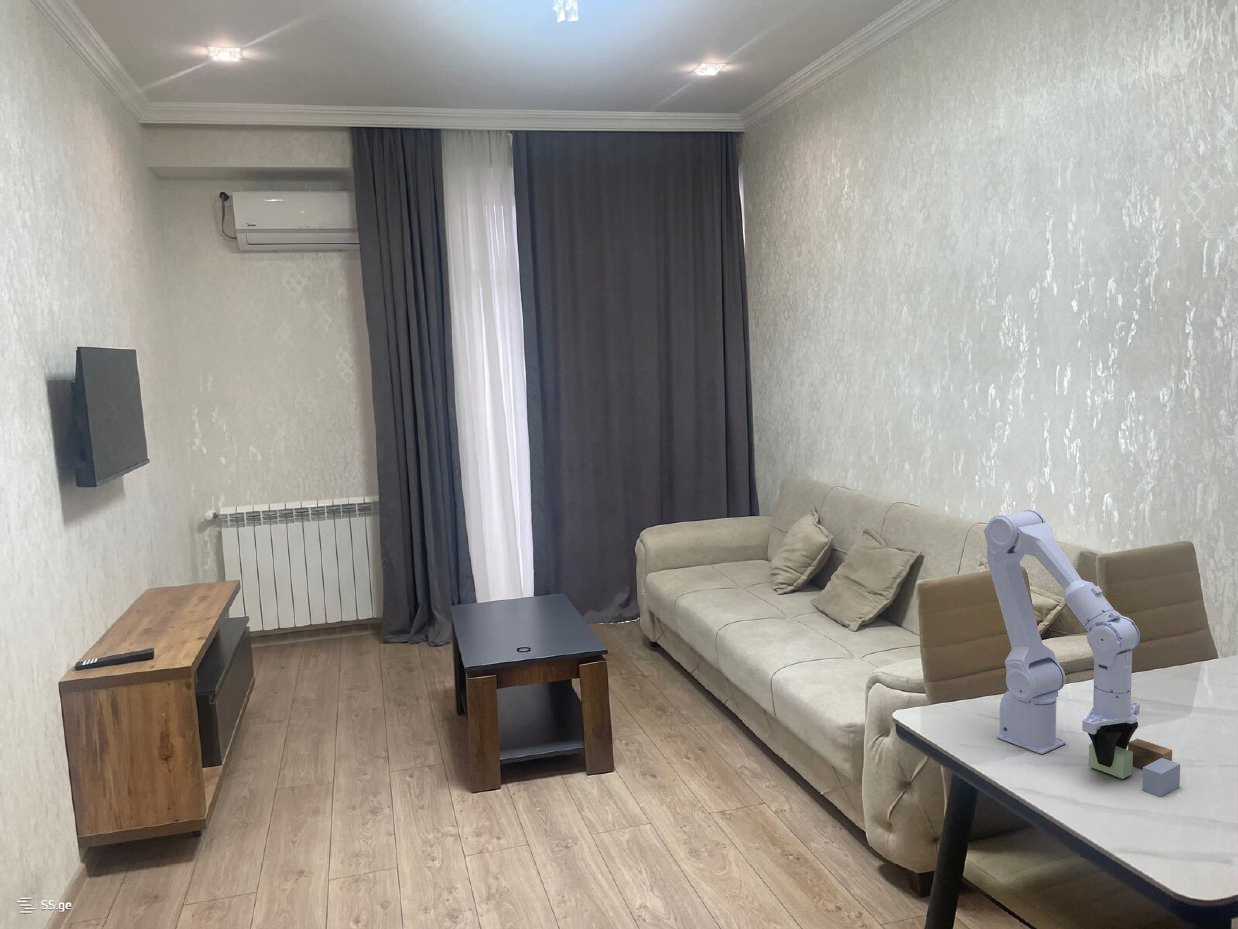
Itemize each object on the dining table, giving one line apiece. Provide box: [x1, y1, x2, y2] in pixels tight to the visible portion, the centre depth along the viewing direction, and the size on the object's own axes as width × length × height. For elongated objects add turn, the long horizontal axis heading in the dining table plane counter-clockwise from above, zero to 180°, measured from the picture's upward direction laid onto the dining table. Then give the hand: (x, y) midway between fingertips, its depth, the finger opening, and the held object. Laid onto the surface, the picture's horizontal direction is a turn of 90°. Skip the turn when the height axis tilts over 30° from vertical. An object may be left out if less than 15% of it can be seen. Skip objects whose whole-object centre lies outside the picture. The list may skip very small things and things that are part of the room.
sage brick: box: [1088, 742, 1133, 779], centre depth 157 cm, size 6×3×4 cm, turn 32°
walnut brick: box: [1127, 738, 1173, 770], centre depth 158 cm, size 6×3×4 cm, turn 32°
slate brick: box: [1141, 758, 1181, 798], centre depth 150 cm, size 6×3×4 cm, turn 122°
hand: (1110, 762), depth 157 cm, fingers closed on sage brick, 3 cm apart
